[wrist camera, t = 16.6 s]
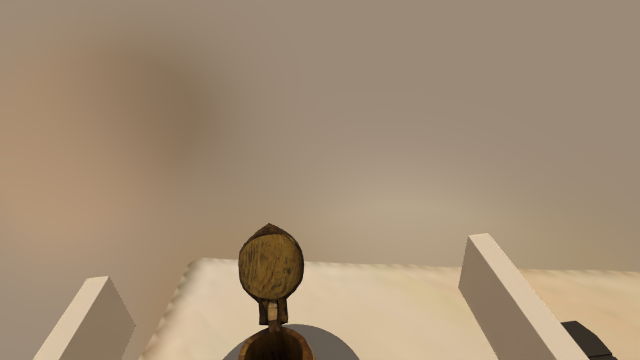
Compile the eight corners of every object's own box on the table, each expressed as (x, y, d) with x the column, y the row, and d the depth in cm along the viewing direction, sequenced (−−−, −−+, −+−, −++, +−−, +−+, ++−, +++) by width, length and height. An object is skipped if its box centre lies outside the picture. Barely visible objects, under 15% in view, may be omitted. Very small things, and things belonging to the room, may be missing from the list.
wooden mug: (326, 337, 41) (317, 217, 32) (340, 478, 29) (331, 351, 20) (252, 344, 41) (221, 225, 32) (236, 489, 29) (181, 367, 20)
